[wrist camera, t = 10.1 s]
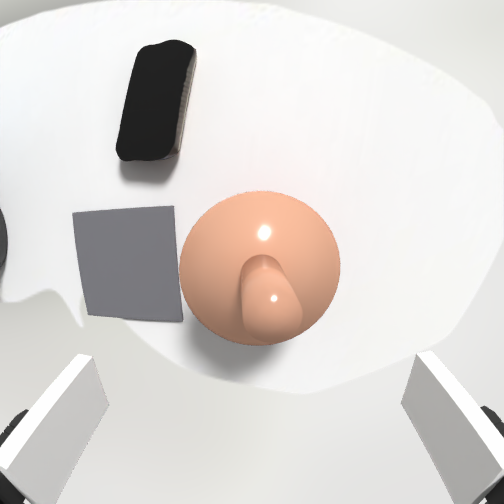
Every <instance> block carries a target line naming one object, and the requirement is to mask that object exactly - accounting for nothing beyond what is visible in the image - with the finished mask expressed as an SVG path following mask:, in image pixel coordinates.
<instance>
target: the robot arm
mask: <svg viewBox="0 0 504 504" xmlns="http://www.w3.org/2000/svg"><path fill="white" fill-rule="evenodd" d="M6 251H7V232H6V226H5V221H4V217H3V214H2V212H1V209H0V268H1V266H2V265H3V263H4V260H5V257H6ZM401 404H402V406H403V408H404V409H405V411H406V413H407V415H408V416H409V418H410V420H411V422H412V423H413V425H414V427H415V429H416V431H417V433H418V434H419V436H420V438H421V440H422V442H423V443H424V445H425V447H426V449H427V451H428V453H429V455H430V457H431V459H432V461H433V462H434V464H435V466H436V468H437V470H438V472H439V474H440V476H441V478H442V480H443V482H444V484H445V486H446V488H447V490H448V492H449V494H450V496H451V498H452V500H453V502H454V504H479V503H480V502H481V501H482V500H483V498H486V500H487V502H486V503H485V504H504V423H503V422H501V419H500V418H499V417H498V416H497V414H496V413H495V412H494V411H492V410H491V409H489V408H487V407H486V406H483V407H479V406H478V405H477V404H476V402H475V401H474V400H473V399H472V397H471V396H470V395H469V394H468V393H467V391H466V390H465V389H464V388H463V387H462V385H461V384H460V383H459V382H458V381H457V380H456V378H455V377H454V376H453V375H452V374H451V373H450V372H449V371H448V369H447V368H446V367H445V366H444V365H443V364H442V362H441V361H440V360H439V359H438V358H437V357H436V356H435V355H434V353H433V352H432V351H427V352H422V353H416V357H415V360H414V364H413V367H412V371H411V374H410V377H409V380H408V383H407V386H406V389H405V393H404V395H403V398H402V401H401ZM108 406H109V402H108V400H107V397H106V395H105V392H104V389H103V386H102V383H101V381H100V378H99V375H98V372H97V369H96V366H95V362H94V359H93V356H88V355H81V354H78V355H77V356H76V357H75V358H74V359H73V360H72V361H71V363H70V364H69V365H68V366H67V367H66V368H65V369H64V370H63V372H62V373H61V374H60V375H59V376H58V377H57V378H56V380H55V381H54V382H53V383H52V384H51V385H50V387H49V388H48V389H47V390H46V391H45V392H44V394H43V395H42V396H41V397H40V398H39V399H38V401H37V402H36V403H35V404H34V406H33V407H32V408H31V409H30V410H24V411H23V412H21V413H20V414H18V415H17V416H16V417H15V418H14V419H13V420H12V421H11V423H10V424H9V426H7V427H6V429H5V430H4V433H3V432H2V434H1V435H0V504H24V503H23V502H24V500H25V498H26V499H27V500H28V501H29V502H30V503H31V504H56V502H57V500H58V498H59V496H60V494H61V492H62V490H63V488H64V486H65V484H66V483H67V480H68V479H69V477H70V475H71V473H72V471H73V469H74V467H75V466H76V463H77V462H78V460H79V458H80V456H81V454H82V453H83V451H84V449H85V447H86V445H87V444H88V442H89V440H90V438H91V436H92V435H93V433H94V431H95V429H96V428H97V426H98V424H99V422H100V421H101V419H102V417H103V415H104V413H105V412H106V410H107V408H108Z"/></svg>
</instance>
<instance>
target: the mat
mask: <svg viewBox="0 0 504 504" xmlns="http://www.w3.org/2000/svg"><path fill="white" fill-rule="evenodd" d="M72 214H73V225H74V234H75V243H76V251H77V258H78V264H79V271H80V277H81V282H82V288H83V293H84V298H85V303H86V307H87V312H88V315H94V316H105V317H117V318H130V319H146V320H164V321H183V313H182V304H181V294H180V284H179V273H178V262H177V249H176V235H175V218H174V206H159V207H141V208H126V209H112V210H99V211H87V212H76V213H72Z"/></svg>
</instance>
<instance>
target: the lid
mask: <svg viewBox="0 0 504 504" xmlns="http://www.w3.org/2000/svg"><path fill="white" fill-rule="evenodd" d="M179 276H180V283H181V288H182V292H183V295H184V298H185V300H186V302H187V304H188V306H189V308H190V309H191V311H192V312H193V314H194V315H195V316H196V317H197V319H198V320H199V321H200V322H201V323H202V324H203V325H204V326H205V327H206V328H208V329H209V330H211V331H212V332H213V333H215V334H217V335H218V336H220V337H222V338H224V339H227V340H229V341H232V342H236V343H240V344H245V345H271V344H276V343H280V342H283V341H286V340H289V339H292V338H294V337H296V336H298V335H300V334H301V333H303V332H304V331H306V330H307V329H309V328H310V327H311V326H312V325H313V324H315V323H316V322H317V321H318V320H319V319H320V317H321V316H322V315H323V314H324V313H325V311H326V310H327V308H328V307H329V305H330V303H331V302H332V300H333V297H334V295H335V293H336V290H337V286H338V282H339V276H340V257H339V251H338V247H337V243H336V241H335V238H334V236H333V234H332V232H331V230H330V228H329V227H328V225H327V224H326V222H325V221H324V220H323V219H322V218H321V216H320V215H319V214H318V213H316V212H315V211H314V210H313V209H312V208H311V207H309V206H308V205H306V204H305V203H303V202H301V201H299V200H297V199H295V198H293V197H290V196H287V195H284V194H281V193H276V192H271V191H251V192H245V193H241V194H237V195H234V196H231V197H229V198H226V199H225V200H223V201H221V202H219V203H217V204H216V205H214V206H213V207H212V208H210V209H209V210H208V211H207V212H206V213H205V214H204V215H203V216H202V217H201V218H200V219H199V220H198V221H197V223H196V224H195V225H194V226H193V228H192V229H191V231H190V233H189V235H188V236H187V238H186V241H185V243H184V246H183V249H182V253H181V257H180V265H179Z"/></svg>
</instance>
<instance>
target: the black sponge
mask: <svg viewBox="0 0 504 504" xmlns="http://www.w3.org/2000/svg"><path fill="white" fill-rule="evenodd" d="M196 60H197V55H196V49H195V48H193V47H192V46H191V45H189V44H187V43H185V42H183V41H180V40H168V41H165V42H162V43H159V44H155V45H148V46H144V47H143V48H142V49H141V50H140V51H139V52H138V54H137V56H136V60H135V63H134V67H133V70H132V74H131V78H130V81H129V86H128V90H127V95H126V99H125V104H124V109H123V114H122V119H121V124H120V130H119V134H118V139H117V143H116V152H117V155H118V156H119V158H120V159H121V160H122V161H133V160H143V161H151V160H159V159H167V158H170V157H172V156H174V155H176V154H177V153H178V151H179V149H180V144H181V137H182V132H183V125H184V121H185V115H186V109H187V102H188V98H189V94H190V88H191V83H192V78H193V73H194V69H195V65H196Z"/></svg>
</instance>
